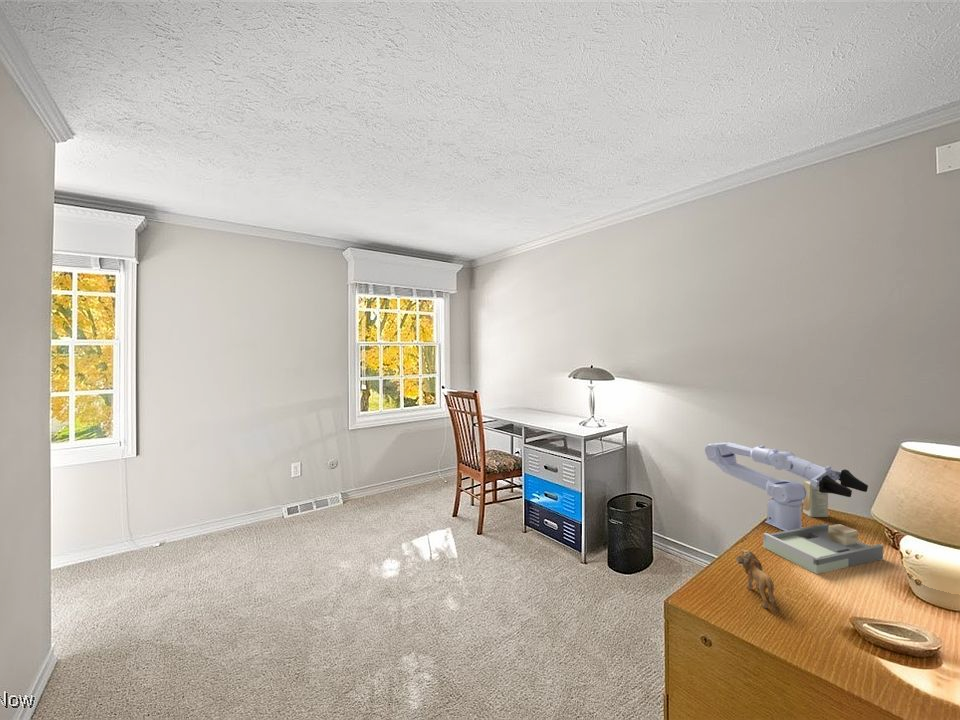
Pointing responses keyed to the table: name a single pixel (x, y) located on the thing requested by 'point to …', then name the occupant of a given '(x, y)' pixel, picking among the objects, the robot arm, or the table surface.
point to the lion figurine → (757, 576)
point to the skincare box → (815, 501)
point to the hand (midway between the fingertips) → (859, 491)
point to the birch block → (842, 534)
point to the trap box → (819, 549)
